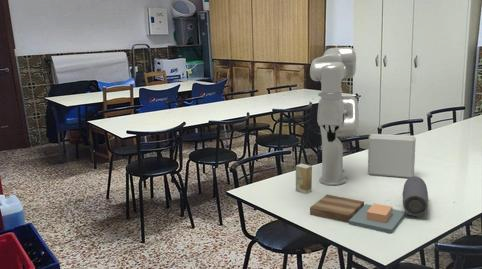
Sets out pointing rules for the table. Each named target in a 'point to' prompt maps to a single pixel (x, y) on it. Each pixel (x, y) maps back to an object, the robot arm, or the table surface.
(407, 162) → the bevelled white case
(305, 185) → the skincare box
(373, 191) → the table surface
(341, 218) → the wooden board
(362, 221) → the mat
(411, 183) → the bluetooth speaker
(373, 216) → the tile
